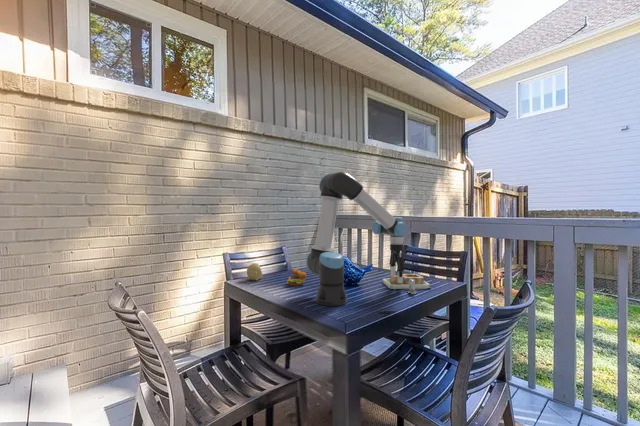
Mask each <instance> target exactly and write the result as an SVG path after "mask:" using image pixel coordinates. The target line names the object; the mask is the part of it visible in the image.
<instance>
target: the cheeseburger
mask: <svg viewBox="0 0 640 426" xmlns="http://www.w3.org/2000/svg"><path fill="white" fill-rule="evenodd" d="M307 277H308V276H307V273H306V272H305V271H301V270H300V269H298V268H294V269H293V270H292V271H291V276H289V277H288V279H287V281H286V284H287V285H291V286H296V287H297V286H302V285H304V284H305V281H306V279H307Z"/></svg>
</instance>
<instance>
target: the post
mask: <svg viewBox="0 0 640 426" xmlns="http://www.w3.org/2000/svg"><path fill="white" fill-rule="evenodd" d="M407 292H408V293H411V294H410V295H417V294H418V292H417V291H416V289H415V280H413V279H410V280H409V289H408V290H407V291H406V293H407ZM408 293H407V294H408ZM416 293H417V294H416Z"/></svg>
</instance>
